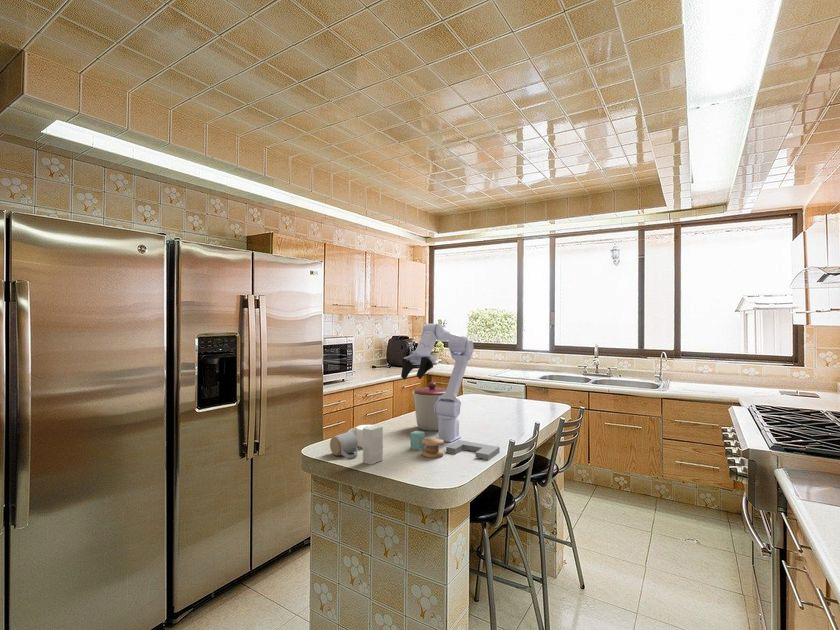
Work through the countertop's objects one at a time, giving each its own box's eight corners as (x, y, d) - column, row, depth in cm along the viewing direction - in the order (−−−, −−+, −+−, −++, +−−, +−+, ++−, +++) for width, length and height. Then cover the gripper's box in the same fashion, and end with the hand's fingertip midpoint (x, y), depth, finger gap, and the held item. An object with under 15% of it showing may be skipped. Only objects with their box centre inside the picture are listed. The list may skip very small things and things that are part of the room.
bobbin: (428, 449, 166) (428, 436, 166) (447, 453, 161) (447, 440, 161) (417, 455, 159) (417, 441, 159) (436, 459, 155) (436, 445, 155)
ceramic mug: (328, 453, 160) (328, 433, 160) (346, 449, 166) (346, 429, 166) (344, 461, 152) (345, 439, 152) (363, 456, 158) (363, 435, 158)
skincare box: (374, 458, 156) (374, 424, 156) (383, 460, 153) (383, 426, 153) (361, 462, 151) (362, 427, 151) (370, 465, 148) (370, 430, 148)
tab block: (415, 445, 171) (415, 430, 171) (424, 447, 169) (424, 432, 169) (410, 448, 167) (410, 432, 168) (419, 450, 165) (419, 434, 165)
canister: (405, 425, 203) (406, 380, 203) (440, 422, 210) (440, 378, 210) (422, 435, 186) (422, 386, 186) (458, 431, 194) (459, 383, 194)
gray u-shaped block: (458, 445, 172) (458, 440, 172) (499, 452, 163) (499, 446, 163) (446, 452, 163) (446, 447, 163) (488, 460, 154) (488, 454, 154)
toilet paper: (345, 446, 170) (345, 428, 170) (368, 440, 178) (369, 423, 178) (357, 450, 164) (358, 432, 164) (381, 444, 172) (381, 427, 172)
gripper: (404, 343, 168) (390, 371, 160) (433, 340, 159) (419, 370, 151) (414, 354, 172) (400, 382, 164) (443, 352, 162) (430, 382, 155)
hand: (410, 377), depth 158 cm, fingers open, 7 cm apart
